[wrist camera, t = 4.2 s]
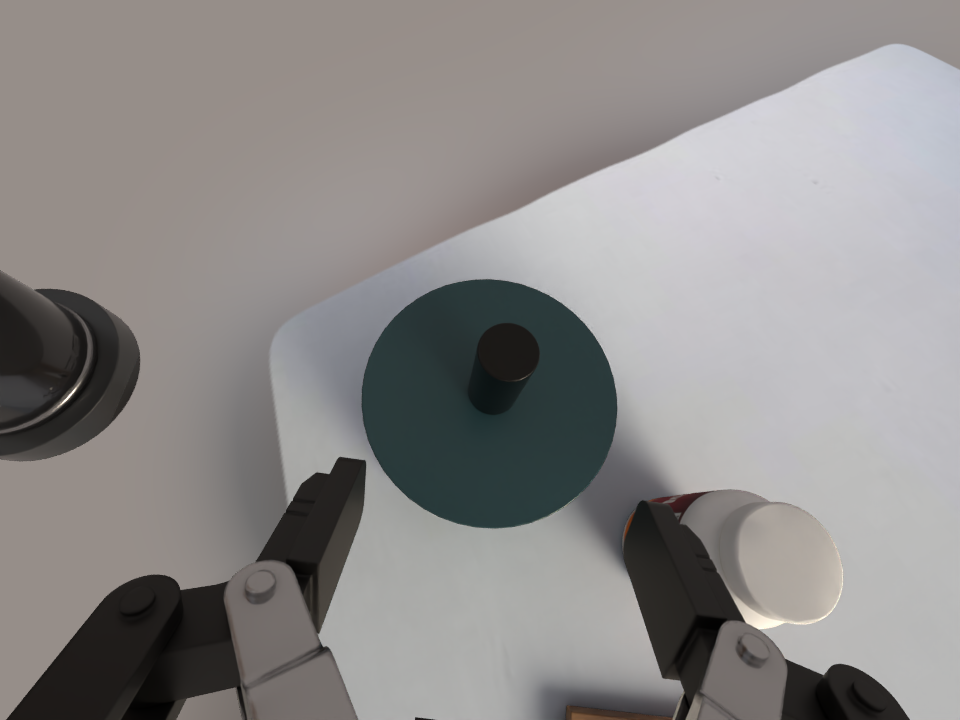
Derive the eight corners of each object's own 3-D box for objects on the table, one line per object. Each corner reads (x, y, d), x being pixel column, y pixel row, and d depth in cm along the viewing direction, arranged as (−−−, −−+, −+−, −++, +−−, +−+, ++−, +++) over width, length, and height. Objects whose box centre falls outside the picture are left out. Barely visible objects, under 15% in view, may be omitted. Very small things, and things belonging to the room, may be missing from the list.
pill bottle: (713, 509, 30) (859, 502, 20) (710, 612, 28) (872, 665, 17) (623, 487, 30) (721, 469, 19) (612, 588, 28) (717, 627, 17)
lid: (338, 508, 20) (295, 502, 14) (391, 273, 25) (376, 190, 19) (606, 544, 21) (677, 553, 15) (612, 307, 25) (667, 237, 19)
